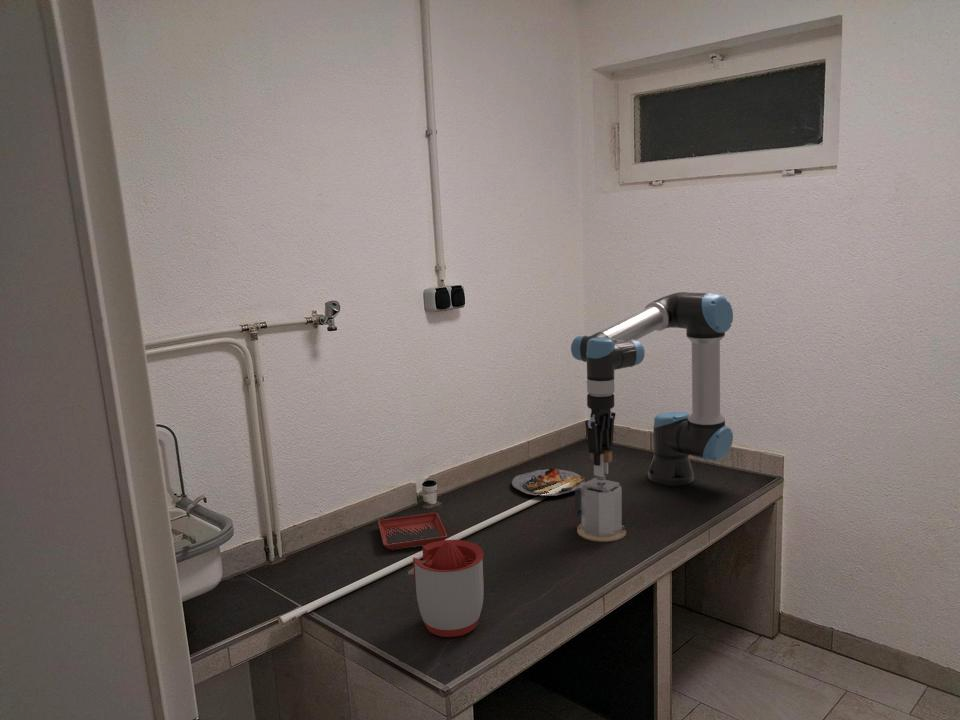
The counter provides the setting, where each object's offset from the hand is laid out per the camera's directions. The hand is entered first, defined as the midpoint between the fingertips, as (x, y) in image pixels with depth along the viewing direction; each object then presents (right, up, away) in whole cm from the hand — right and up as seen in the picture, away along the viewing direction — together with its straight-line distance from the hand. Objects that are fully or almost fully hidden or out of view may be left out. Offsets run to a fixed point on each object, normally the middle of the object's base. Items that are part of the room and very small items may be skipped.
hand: (601, 474), depth 208 cm
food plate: (-11, -11, +41) cm, 44 cm away
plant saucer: (-54, -20, +5) cm, 58 cm away
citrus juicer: (-42, -27, -43) cm, 66 cm away
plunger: (0, -12, +2) cm, 12 cm away
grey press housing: (+1, -17, +3) cm, 17 cm away
